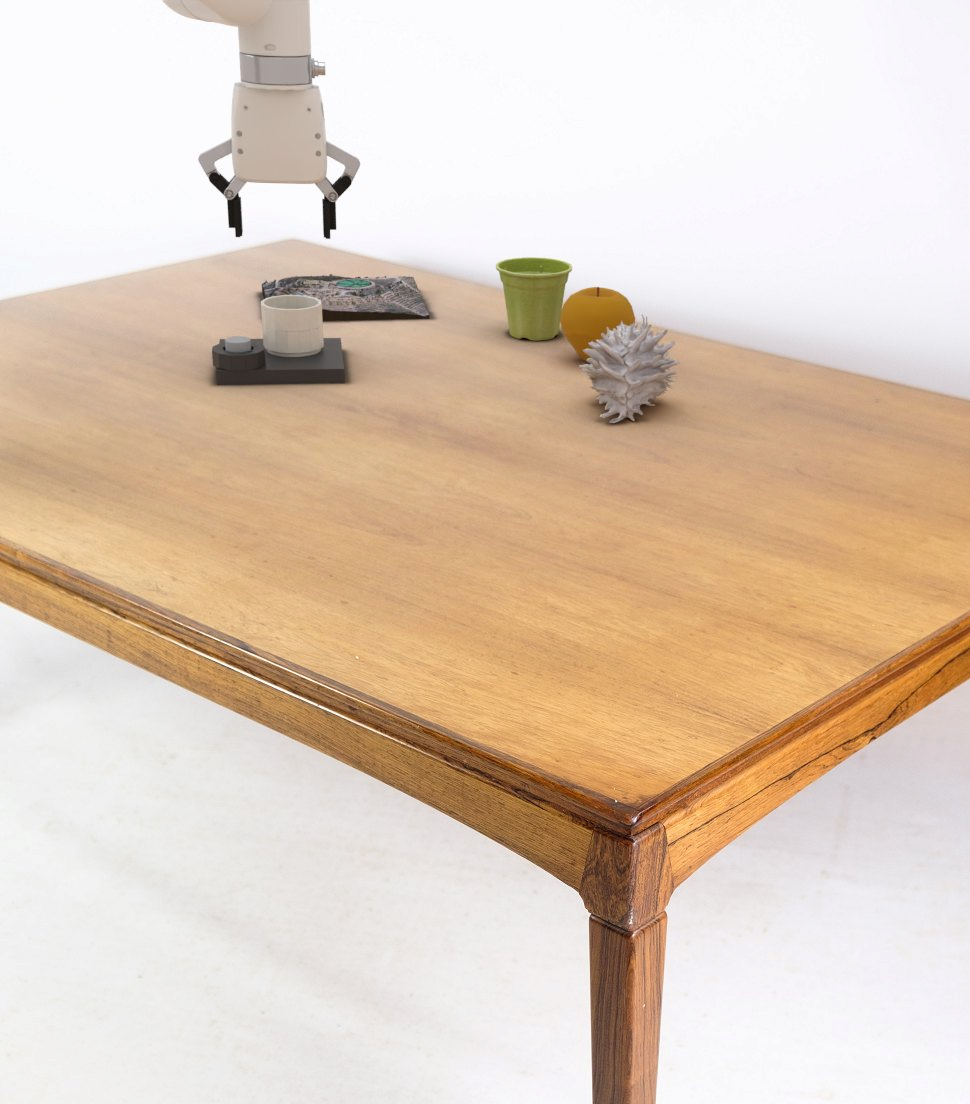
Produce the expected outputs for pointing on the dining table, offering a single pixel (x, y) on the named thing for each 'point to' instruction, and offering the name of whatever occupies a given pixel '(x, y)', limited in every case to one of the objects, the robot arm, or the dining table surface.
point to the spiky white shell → (629, 369)
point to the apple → (593, 316)
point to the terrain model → (355, 296)
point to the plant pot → (534, 295)
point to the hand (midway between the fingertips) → (283, 235)
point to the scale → (278, 365)
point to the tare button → (238, 344)
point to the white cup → (292, 325)
